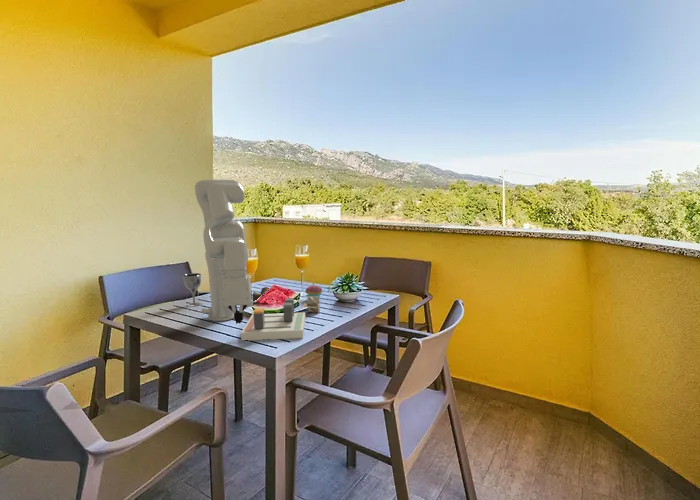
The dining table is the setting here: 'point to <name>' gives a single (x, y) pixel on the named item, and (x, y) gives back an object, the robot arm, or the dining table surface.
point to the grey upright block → (259, 318)
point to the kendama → (257, 295)
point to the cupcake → (313, 290)
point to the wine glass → (192, 284)
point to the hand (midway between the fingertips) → (238, 322)
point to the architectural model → (313, 304)
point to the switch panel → (277, 325)
